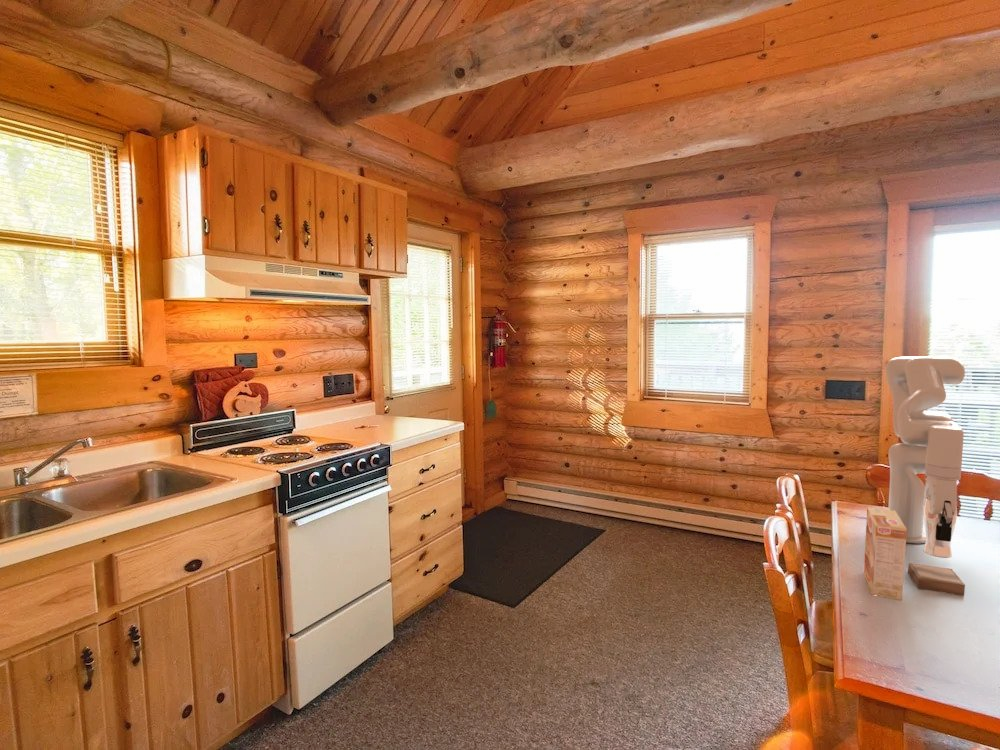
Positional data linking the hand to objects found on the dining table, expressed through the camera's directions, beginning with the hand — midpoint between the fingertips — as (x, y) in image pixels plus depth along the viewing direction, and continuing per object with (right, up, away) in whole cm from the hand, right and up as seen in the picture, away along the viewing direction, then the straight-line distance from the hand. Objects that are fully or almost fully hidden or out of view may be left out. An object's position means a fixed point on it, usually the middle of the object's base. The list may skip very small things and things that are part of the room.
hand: (938, 535), depth 151 cm
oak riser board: (0, -14, +2) cm, 14 cm away
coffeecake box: (-15, -14, +1) cm, 21 cm away
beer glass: (0, -5, 0) cm, 5 cm away
